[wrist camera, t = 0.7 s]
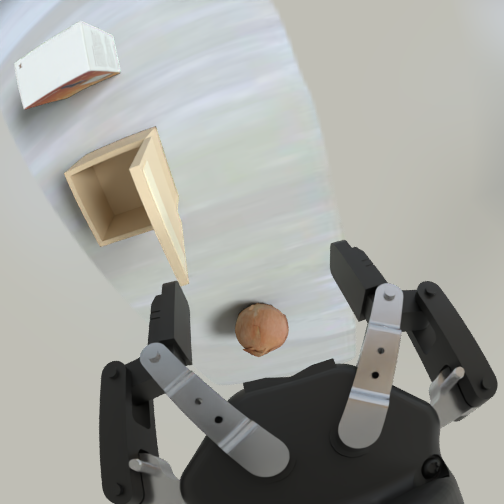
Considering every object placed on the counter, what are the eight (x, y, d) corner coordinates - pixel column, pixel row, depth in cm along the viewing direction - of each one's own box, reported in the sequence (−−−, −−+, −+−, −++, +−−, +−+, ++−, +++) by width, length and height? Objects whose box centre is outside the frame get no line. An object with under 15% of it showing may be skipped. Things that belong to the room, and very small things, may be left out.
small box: (66, 98, 23) (21, 112, 15) (58, 62, 19) (11, 63, 11) (122, 73, 23) (90, 71, 15) (114, 34, 20) (80, 19, 11)
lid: (129, 169, 15) (140, 164, 15) (144, 139, 22) (152, 136, 22) (180, 286, 21) (190, 283, 21) (175, 224, 29) (182, 222, 29)
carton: (86, 154, 28) (64, 173, 22) (155, 126, 28) (145, 138, 23) (113, 218, 34) (100, 247, 28) (178, 196, 34) (175, 223, 29)
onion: (246, 312, 55) (239, 359, 49) (232, 293, 47) (224, 348, 42) (292, 313, 52) (289, 362, 47) (286, 293, 45) (282, 351, 39)
